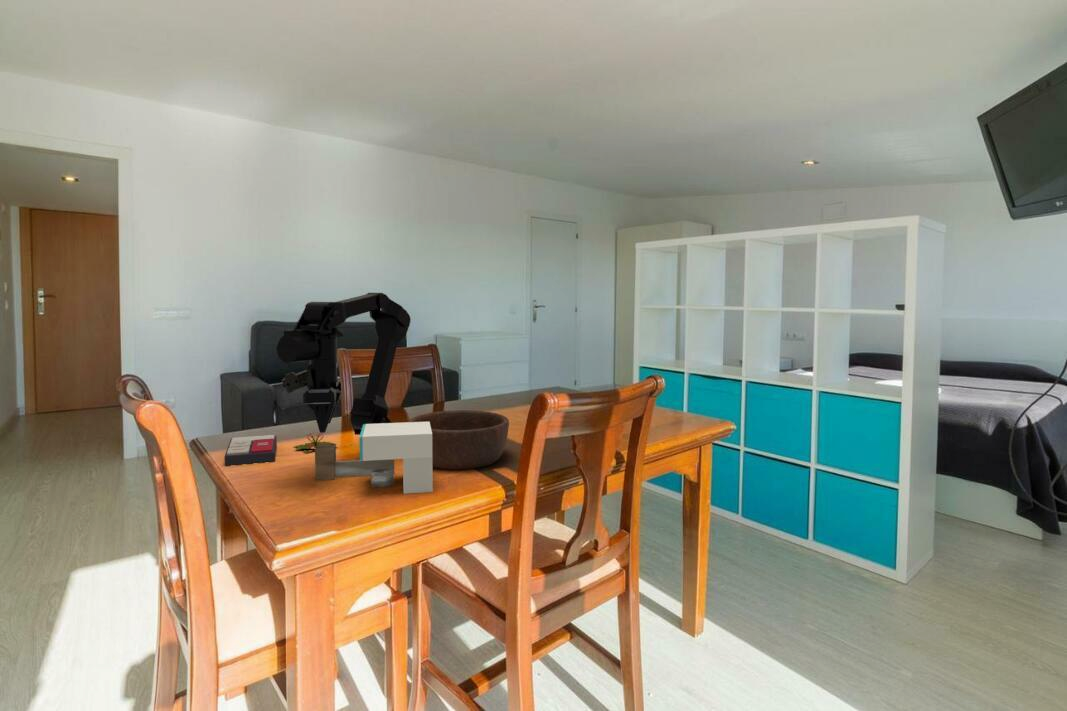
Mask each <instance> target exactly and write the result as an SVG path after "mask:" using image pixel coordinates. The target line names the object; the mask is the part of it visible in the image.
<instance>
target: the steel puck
mask: <svg viewBox="0 0 1067 711" xmlns="http://www.w3.org/2000/svg"><path fill="white" fill-rule="evenodd" d="M394 481H395V480H394V474H393V470H391V469H377V470H374V471H372V472H371V476H370V485H371V487H373V488H379V489H380V488H388V487H391V486H393V485H394Z"/></svg>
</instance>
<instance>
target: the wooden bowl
mask: <svg viewBox="0 0 1067 711" xmlns="http://www.w3.org/2000/svg"><path fill="white" fill-rule="evenodd" d="M409 422H430V426H431V431H432V468H433V469H441V470H453V471H454V470H456V471H457V470H458V471H459V470H473V469H478V468H484V467H486V466H490V465H492V464H494V463H496V462H497V461H498V460H499V459H500V458H501V456H502V455H503V452H504V450H505V448H506V444H507V440H508V434H509V427H510V420H509V418H507V417H506V416H505V415H503V414H501V413H496V412H491V411H483V410H473V409H472V410H468V409H467V410H465V409H464V410H461V409H458V410H457V409H455V410H441V411H434V412H428V413H423V414H419V415H416V416H414V417H413V418H411V419H410V420H409Z"/></svg>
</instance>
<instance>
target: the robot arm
mask: <svg viewBox="0 0 1067 711" xmlns="http://www.w3.org/2000/svg"><path fill="white" fill-rule="evenodd" d="M304 306H305V307H304V310H303V311H302V313H301V315H300V317H299V319H298V321H297V322H296V324H295V327H294V329H285V330H283V336H282V337H280V338H279V340H278V342H277V345H276V354H277V356H278V358H279V359H280V361H282V362H283V363H286V364H292V363H299V362H300V363H301V362H307V361H309V364H307V365H306V369H305V370H302V371H299V372H297V373H296V372H294V371H292V372H289V373H286V374H285V375H284V377H283V379H281V382H282V386H281V387H282V388H284V389H285V392H286V394H290V393H293V392H294V391H296V390H299V389H302V388H304V387H306V388H307V390H306V391H305V392H304V393H302V394H303V396H302V398H303V400H302V401H303V404H304V405H305V406H306V407H308V408H310V409H311V410H312V411H313V414H314V417H315V420H316V424H317V427H318V431H319V433H320V434H324V433H326V432H327V428H328V425H329V424H331V421H332V419H333V416H334V413H335V411H336V408H337V405H338V403H339V400H340V397H341V396H342V392H343V391H342V390H343V389H344V388H343V380H342V379H340V377H338V367H339V361H338V348H337V346H338V345H337V344H338V343H337V341H338V340H337V339H338V338H343V337H344V333H342V332H341V331H340V330H339V328H338V327H339V326H340V325H343V324H344V323H345V322H346V320H347V319H349V318H351V317H354V316H358V315H363V314H366V313H368V312H369V317H370V318H371V320H372V321H374V322H375V323H374V331H375V334H376V337H377V343H376V346H375V350H374V355H373V357H372V358H373V359H372V363H371V366H370V369H369V370H370V371H369V374H368V378H367V382H366V386H365V390H364V393H363V394H362V395H361V396H360V398H358V397H355V398H353V400H352V401H353V402H352V408H351V410H350V412H349V414H350V417H349V419H350V423H351V425H352V429H353V433H354V435H355V436H357V435H359V436H360V433H361V430H362V427H363V424H378V423H393V422H392V421H391V419H390V418H388V412H389V408H388V405H387V404H388V403H387V401H386V398H385V396H386V393H387V388H388V385H389V381H390V377H391V372H392V368H393V364H394V359H395V356H396V351H397V347H398V344H399V343H400V342H401V341H402V339H404V338H405V337H406V336H407V334H408V330H409V328H410V324H411V316H410V314H409V313H408V311H407V310H406V309H405V308H404V307H403V306H402V305H400V304H399V303H397V302H395V301H393V300H392V299H391V298H390V297H389V296H388V295H387V294H386V293H383V292H367V293H365V294H362V295H358V296H355V297H349V298H346V299H342V300H337V301H310V302H307V303H306V304H305V305H304Z"/></svg>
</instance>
